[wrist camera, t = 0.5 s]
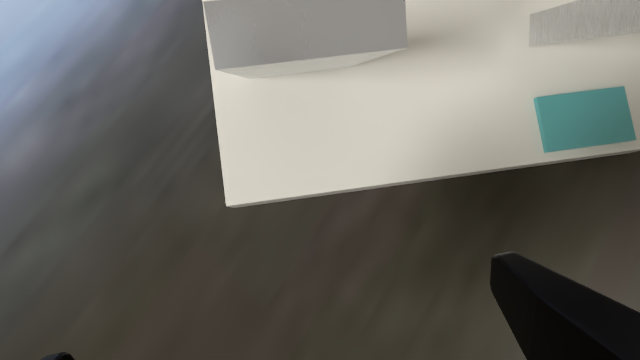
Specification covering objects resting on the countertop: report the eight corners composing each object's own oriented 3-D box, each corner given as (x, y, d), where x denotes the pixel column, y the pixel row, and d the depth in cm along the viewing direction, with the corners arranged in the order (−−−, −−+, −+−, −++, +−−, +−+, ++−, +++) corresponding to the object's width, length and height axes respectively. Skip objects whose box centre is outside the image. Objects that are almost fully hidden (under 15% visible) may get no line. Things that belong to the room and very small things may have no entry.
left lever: (345, 67, 19) (407, 48, 10) (249, 78, 19) (215, 69, 9) (342, 35, 19) (404, -19, 9) (244, 46, 19) (203, 1, 9)
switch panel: (628, 153, 23) (673, 144, 20) (234, 207, 21) (225, 205, 19) (580, -58, 24) (616, -94, 22) (207, -21, 23) (194, -55, 20)
